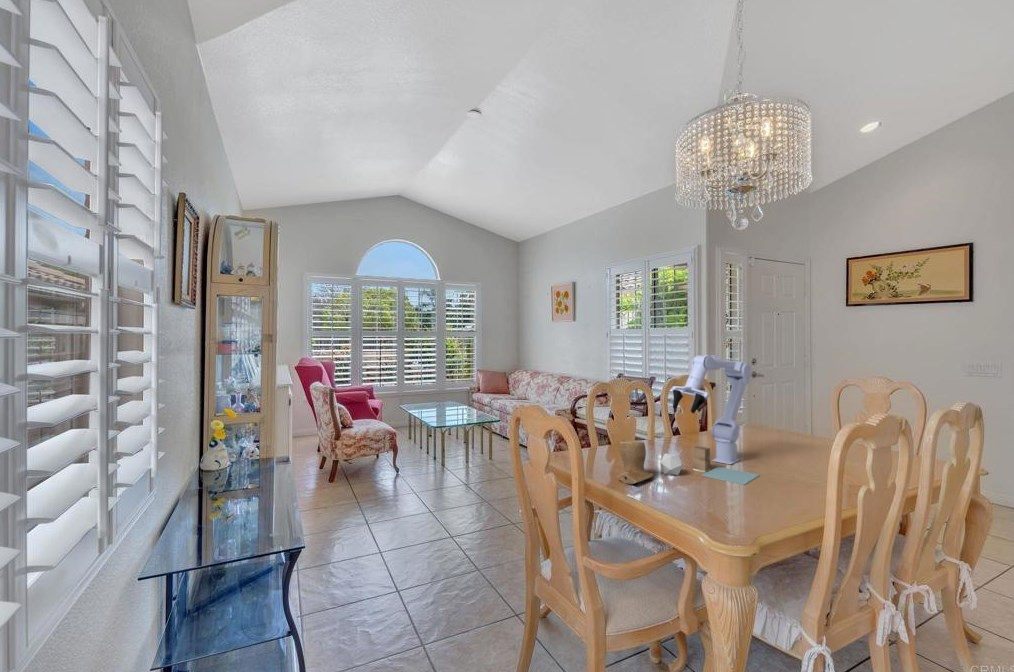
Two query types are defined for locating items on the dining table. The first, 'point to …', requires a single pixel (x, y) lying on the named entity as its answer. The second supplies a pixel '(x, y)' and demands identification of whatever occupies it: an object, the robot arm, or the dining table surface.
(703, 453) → the walnut block
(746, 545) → the dining table surface
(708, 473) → the mat
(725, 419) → the robot arm
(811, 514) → the dining table surface
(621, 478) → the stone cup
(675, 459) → the die
